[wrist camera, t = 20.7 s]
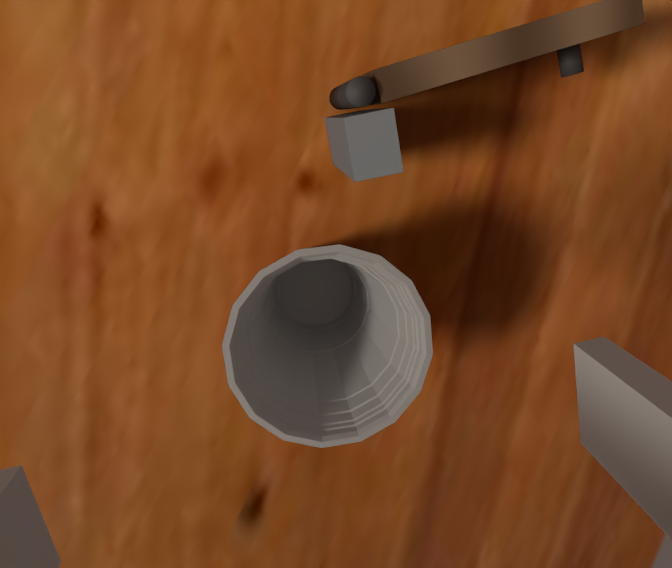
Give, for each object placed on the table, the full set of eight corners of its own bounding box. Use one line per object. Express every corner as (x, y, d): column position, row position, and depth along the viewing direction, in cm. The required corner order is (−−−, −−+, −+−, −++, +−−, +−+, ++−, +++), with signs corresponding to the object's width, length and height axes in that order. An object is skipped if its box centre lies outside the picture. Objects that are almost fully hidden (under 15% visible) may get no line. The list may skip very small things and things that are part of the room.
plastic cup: (419, 252, 40) (476, 306, 29) (346, 379, 43) (372, 476, 31) (280, 180, 38) (282, 208, 27) (211, 319, 40) (185, 399, 29)
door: (340, 138, 37) (360, 145, 28) (326, 88, 36) (342, 78, 27) (563, 71, 37) (653, 56, 28) (554, 19, 36) (645, -13, 27)
